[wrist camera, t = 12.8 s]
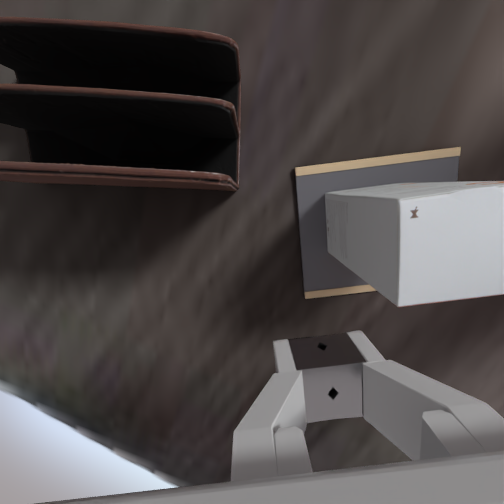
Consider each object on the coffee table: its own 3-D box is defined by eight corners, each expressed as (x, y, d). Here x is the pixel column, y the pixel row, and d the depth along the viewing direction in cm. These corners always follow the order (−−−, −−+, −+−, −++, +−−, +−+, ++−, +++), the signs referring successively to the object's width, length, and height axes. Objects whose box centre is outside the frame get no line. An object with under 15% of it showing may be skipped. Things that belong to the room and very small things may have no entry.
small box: (326, 252, 27) (394, 310, 14) (323, 192, 25) (396, 196, 13) (402, 243, 27) (540, 293, 14) (404, 181, 25) (560, 175, 13)
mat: (456, 147, 25) (460, 146, 24) (446, 280, 28) (450, 282, 28) (294, 167, 25) (295, 167, 25) (304, 297, 29) (305, 298, 28)
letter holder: (239, 191, 26) (228, 195, 12) (42, 183, 25) (-196, 178, 12) (242, 80, 23) (232, -70, 10) (24, 70, 23) (-303, -102, 9)
